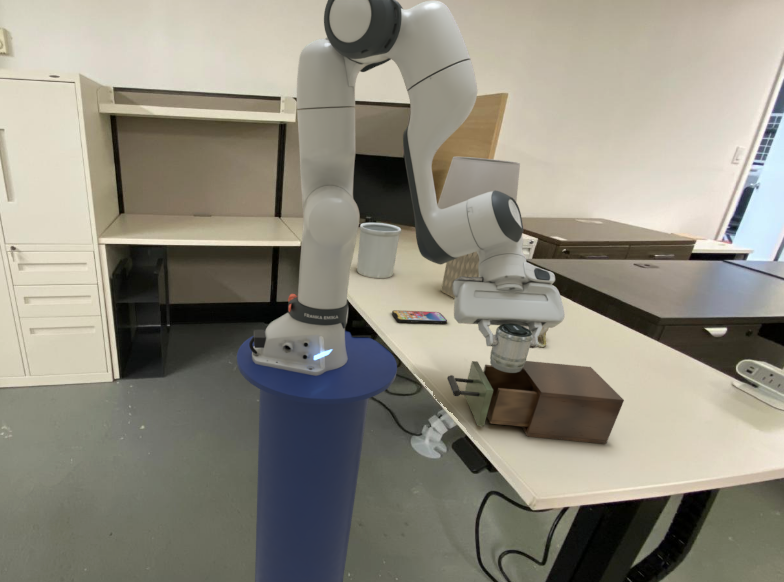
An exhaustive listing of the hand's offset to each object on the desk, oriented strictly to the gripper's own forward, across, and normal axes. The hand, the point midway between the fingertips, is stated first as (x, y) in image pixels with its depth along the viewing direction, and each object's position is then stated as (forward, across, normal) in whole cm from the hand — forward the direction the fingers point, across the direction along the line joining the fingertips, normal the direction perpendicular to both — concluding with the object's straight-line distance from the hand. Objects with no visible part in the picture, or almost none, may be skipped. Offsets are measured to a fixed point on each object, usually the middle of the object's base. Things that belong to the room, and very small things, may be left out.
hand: (512, 346), depth 85 cm
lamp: (-42, +18, +64) cm, 79 cm away
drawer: (+10, 0, +11) cm, 15 cm away
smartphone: (-24, -2, +46) cm, 53 cm away
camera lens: (+3, 0, +4) cm, 5 cm away
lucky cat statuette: (-16, +27, +38) cm, 50 cm away
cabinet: (+12, +12, +10) cm, 19 cm away
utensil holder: (-56, -8, +78) cm, 97 cm away
